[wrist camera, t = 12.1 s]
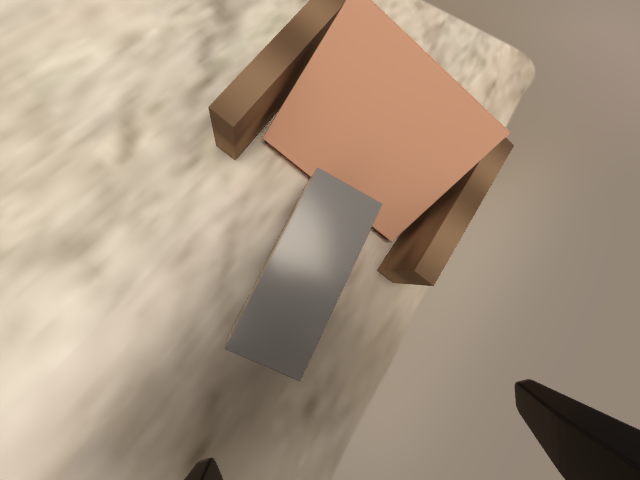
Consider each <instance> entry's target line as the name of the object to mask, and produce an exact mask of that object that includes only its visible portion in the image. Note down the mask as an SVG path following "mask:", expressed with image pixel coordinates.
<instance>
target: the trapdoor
mask: <svg viewBox="0 0 640 480" xmlns="http://www.w3.org/2000/svg"><path fill="white" fill-rule="evenodd" d="M509 134H510V132H509V131H508V130H507V129H506V128H505V127H504V126H503V125H502V124H501V123H500V122H499V121H498V120H497V119H496V118H495V117H494V116H493V115H492V114H490V113H489V112H488V111H487V110H486V109H485V108H484V107H483V106H482V105H481V104H480V103H479V102H478V101H477V100H476V99H475V98H474V97H473V96H472V95H471V94H469V93H468V92H467V91H466V90H465V89H464V88H463V87H462V86H461V85H460V84H459V83H458V82H457V81H456V80H455V79H454V78H453V77H452V76H451V75H450V74H448V73H447V72H446V71H445V70H444V69H443V68H442V67H441V66H440V65H439V64H438V63H437V62H436V61H435V60H434V59H433V58H432V57H431V56H430V55H429V54H427V53H426V52H425V51H424V50H423V49H422V48H421V47H420V46H419V45H418V44H417V43H416V42H415V41H414V40H413V39H412V38H411V37H410V36H409V35H408V34H406V33H405V32H404V31H403V30H402V29H401V28H400V27H399V26H398V25H397V24H396V23H395V22H394V21H393V20H392V19H391V18H390V17H389V16H388V15H387V14H385V13H384V12H383V11H382V10H381V9H380V8H379V7H378V6H377V5H376V4H375V3H374V2H373V1H372V0H346V1H345V3H344V5H343V6H342V8H341V10H340V11H339V13H338V15H337V16H336V18H335V20H334V21H333V23H332V25H331V26H330V28H329V29H328V31H327V33H326V34H325V36H324V38H323V39H322V41H321V43H320V44H319V46H318V48H317V49H316V51H315V53H314V54H313V56H312V57H311V59H310V61H309V62H308V64H307V66H306V67H305V69H304V71H303V72H302V74H301V76H300V77H299V79H298V81H297V82H296V84H295V85H294V87H293V89H292V90H291V92H290V94H289V95H288V97H287V99H286V100H285V102H284V104H283V105H282V107H281V109H280V110H279V112H278V113H277V115H276V117H275V118H274V120H273V122H272V123H271V125H270V127H269V128H268V130H267V132H266V133H265V135H264V137H263V139H264V140H266V141H267V142H268V143H269V144H271V145H272V146H273V147H274V148H276V149H277V150H278V151H279V152H281V153H282V154H283V155H284V156H285V157H287V158H288V159H289V160H290V161H292V162H293V163H294V164H295V165H297V166H298V167H299V168H300V169H302V170H303V171H304V172H305V173H307V174H308V175H309V176H310V177H311V176H312V175H313V173H314V172H315V170H316V169H317V167H318V168H320V169H322V170H323V171H325V172H327V173H329V174H330V175H332V176H334V177H336V178H338V179H339V180H341V181H343V182H345V183H346V184H348V185H350V186H352V187H354V188H355V189H357V190H359V191H361V192H362V193H364V194H366V195H368V196H370V197H371V198H373V199H375V200H377V201H378V202H380V203H382V206H381V208H380V210H379V213H378V215H377V217H376V219H375V221H374V223H373V225H372V226H373V227H374V228H375V229H376V230H378V231H379V232H380V233H381V234H383V235H384V236H385V237H386V238H388V239H389V240H390V241H391V242H392V241H393V240H394V239H395V238H396V237H397V236H398V235H399V234H401V233H402V232H403V231H404V230H405V229H406V228H407V227H408V226H409V225H410V224H411V223H413V222H414V221H415V220H416V219H417V218H418V217H419V216H420V215H421V214H422V213H423V212H425V211H426V210H427V209H428V208H429V207H430V206H431V205H432V204H433V203H434V202H435V201H437V200H438V199H439V198H440V197H441V196H442V195H443V194H444V193H445V192H446V191H447V190H449V189H450V188H451V187H452V186H453V185H454V184H455V183H456V182H457V181H458V180H459V179H461V178H462V177H463V176H464V175H465V174H466V173H467V172H468V171H469V170H470V169H471V168H473V167H474V166H475V165H476V164H477V163H478V162H479V161H480V160H481V159H482V158H483V157H485V156H486V155H487V154H488V153H489V152H490V151H491V150H492V149H493V148H494V147H495V146H497V145H498V144H499V143H500V142H501V141H502V140H503V139H504V138H505V137H506V136H507V135H509Z"/></svg>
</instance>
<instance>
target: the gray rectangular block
mask: <svg viewBox="0 0 640 480" xmlns="http://www.w3.org/2000/svg"><path fill="white" fill-rule="evenodd" d="M381 206H382V203H380V202H378V201H377V200H375V199H373V198H371V197H370V196H368V195H366V194H364V193H362V192H361V191H359V190H357V189H355V188H354V187H352V186H350V185H348V184H346V183H345V182H343V181H341V180H339V179H338V178H336V177H334V176H332V175H330V174H329V173H327V172H325V171H323V170H322V169H320V168H318V167H317V169H316V170H315V172H314V173H313V175H312V176H311V178H310V179H309V181H308V182H307V184H306V185H305V187H304V189H303V191H302V193H301V195H300V197H299V199H298V201H297V203H296V205H295V207H294V209H293V211H292V213H291V215H290V217H289V219H288V221H287V222H286V224H285V226H284V228H283V230H282V232H281V234H280V236H279V238H278V240H277V242H276V244H275V246H274V248H273V250H272V252H271V254H270V256H269V257H268V259H267V261H266V263H265V265H264V267H263V269H262V271H261V273H260V275H259V277H258V279H257V281H256V283H255V285H254V287H253V289H252V291H251V293H250V294H249V296H248V298H247V300H246V302H245V304H244V306H243V308H242V310H241V312H240V314H239V316H238V318H237V320H236V322H235V324H234V326H233V328H232V330H231V333H230V335H229V338H228V341H227V343H226V346H225V349H226V350H228V351H231V352H233V353H235V354H238V355H240V356H242V357H245V358H247V359H249V360H252V361H254V362H256V363H259V364H261V365H263V366H266V367H268V368H270V369H273V370H275V371H277V372H280V373H282V374H284V375H287V376H289V377H291V378H294V379H296V380H298V381H300V380H301V378H302V376H303V374H304V371H305V369H306V367H307V365H308V363H309V361H310V359H311V356H312V354H313V352H314V350H315V348H316V346H317V344H318V341H319V339H320V337H321V335H322V333H323V331H324V329H325V326H326V324H327V322H328V320H329V318H330V316H331V314H332V311H333V309H334V307H335V305H336V303H337V301H338V298H339V296H340V294H341V292H342V290H343V288H344V286H345V283H346V281H347V279H348V277H349V275H350V273H351V271H352V268H353V266H354V264H355V262H356V260H357V258H358V256H359V253H360V251H361V249H362V247H363V245H364V243H365V240H366V238H367V236H368V234H369V232H370V230H371V228H372V225H373V223H374V221H375V219H376V217H377V215H378V213H379V210H380V208H381Z"/></svg>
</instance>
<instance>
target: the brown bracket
mask: <svg viewBox="0 0 640 480" xmlns="http://www.w3.org/2000/svg"><path fill="white" fill-rule="evenodd" d="M345 1H346V0H310V1H309V2H308V3H307V4H306V5H305V6H304V7H303V8H302V9H301V10H300V11H299V12H298V13H297V14H296V15H295V16H294V17H293V18H292V19H291V21H290V22H289V23H288V24H287V25H286V26H285V27H284V28H283V29H282V30H281V31H280V32H279V33H278V34H277V35H276V36H275V37H274V38H273V40H272V41H271V42H270V43H269V44H268V45H267V46H266V47H265V48H264V49H263V50H262V51H261V52H260V53H259V54H258V55H257V56H256V57H255V59H254V60H253V61H252V62H251V63H250V64H249V65H248V66H247V67H246V68H245V69H244V70H243V71H242V72H241V73H240V74H239V75H238V76H237V78H236V79H235V80H234V81H233V82H232V83H231V84H230V85H229V86H228V87H227V88H226V89H225V90H224V91H223V92H222V93H221V94H220V95H219V96H218V98H217V99H216V100H215V101H214V102H213V103H212V104H211V105H210V106H209V112H210V117H211V122H212V127H213V132H214V137H215V142H216V146H218V147H219V148H220V149H221V150H223V151H224V152H225V153H227V154H228V155H229V156H230V157H232V158H233V159H234V160H236V159H237V158H238V157H239V155H240V154H241V153H242V152H243V151H244V150H245V148H246V147H247V146H248V145H249V144H250V143H251V142H252V140H253V139H254V138H255V137H256V136H257V135H258V133H259V132H260V131H261V130H262V129H263V128H264V126H265V125H266V124H267V123H268V122H269V121H270V120H271V118H272V117H273V116H274V115H275V114H276V113H277V111H278V110H279V109H280V108H281V107H282V105H283V104H284V102H285V100H286V99H287V97H288V95H289V94H290V92H291V90H292V89H293V87H294V85H295V84H296V82H297V81H298V79H299V77H300V76H301V74H302V72H303V71H304V69H305V67H306V66H307V64H308V62H309V61H310V59H311V57H312V56H313V54H314V53H315V51H316V49H317V48H318V46H319V44H320V43H321V41H322V39H323V38H324V36H325V34H326V33H327V31H328V29H329V28H330V26H331V25H332V23H333V21H334V20H335V18H336V16H337V15H338V13H339V11H340V10H341V8H342V6H343V5H344V3H345ZM513 146H514V145H513V144H512V143H511V142H510V141H509V140H508V139H507V138H506V137H505V138H504V139H503V140H502V141H501V142H500V143H499V144H498V145H497V146H495V147H494V148H493V149H492V150H491V151H490V152H489V153H488V154H487V155H486V156H485V157H483V158H482V159H481V160H480V161H479V162H478V163H477V164H476V165H475V166H474V167H473V168H471V169H470V170H469V171H468V172H467V173H466V174H465V175H464V176H463V177H462V178H461V179H459V180H458V181H457V182H456V183H455V184H454V185H453V186H452V187H451V188H450V189H449V190H447V191H446V192H445V193H444V194H443V195H442V196H441V197H440V198H439V199H438V200H437V201H435V202H434V203H433V204H432V205H431V206H430V207H429V208H428V209H427V210H426V211H425V212H423V213H422V214H421V215H420V216H419V217H418V218H417V219H416V220H415V221H414V222H413V223H411V224H410V225H409V226H408V227H407V228H406V229H405V230H404V231H403V232H402V233H401V234H400V236H399V237H398V239H397V241H396V242H395V244H394V245H393V247H392V248H391V250H390V252H389V253H388V255H387V256H386V258H385V260H384V261H383V263H382V264H381V266H380V267H379V269H378V271H379V272H380V273H381V274H383V275H384V276H385V277H386V278H388V279H389V280H390V281H392V282H393V283H403V284H415V285H428V286H434V284H435V282H436V281H437V279H438V277H439V276H440V274H441V272H442V270H443V269H444V267H445V265H446V263H447V261H448V259H449V258H450V256H451V254H452V253H453V251H454V249H455V247H456V246H457V244H458V242H459V241H460V239H461V237H462V235H463V233H464V232H465V230H466V228H467V227H468V224H469V223H470V221H471V220H472V218H473V216H474V214H475V212H476V211H477V209H478V207H479V206H480V204H481V202H482V200H483V199H484V197H485V195H486V193H487V192H488V190H489V188H490V186H491V185H492V183H493V181H494V179H495V178H496V176H497V174H498V172H499V171H500V169H501V167H502V165H503V164H504V162H505V160H506V158H507V157H508V155H509V153H510V151H511V150H512V148H513Z"/></svg>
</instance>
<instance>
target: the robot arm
mask: <svg viewBox="0 0 640 480" xmlns="http://www.w3.org/2000/svg"><path fill="white" fill-rule="evenodd" d="M515 398H516V406H517V409H518V411H519V413H520V415H521V416H522V418H523V419H524V421H525V422H526V423H527V425H528V426H529V428H530V429H531V431H532V432H533V434H534V435H535V437H536V439H537V440H538V441H539V443H540V444H541V446H542V447H543V449H544V450H545V452H546V453H547V455H548V456H549V458H550V459H551V461H552V462H553V463H554V465H555V466H556V468H557V469H558V471H559V472H560V473H561V475H562V476H563V477H564V478H565V480H640V430H639V429H637V428H634V427H632V426H630V425H628V424H625V423H624V422H621V421H619V420H617V419H615V418H613V417H611V416H609V415H606V414H604V413H602V412H600V411H598V410H595V409H594V408H591V407H589V406H587V405H585V404H583V403H581V402H578V401H576V400H574V399H572V398H570V397H568V396H565V395H563V394H561V393H559V392H557V391H555V390H552V389H550V388H548V387H546V386H544V385H542V384H540V383H537V382H535V381H533V380H529V379H526V380H522V381H518V382H516V383H515ZM184 480H223V478H222V475H221V473H220V471H219V468H218V466H217V464H216V461H215V459H213V458H208V459H204V460H200V461H199V462H197V464H196V465H195V466H194V467H193V469H192V470H191V471H190V473H189V474H188V475H187V477H186V478H185V479H184Z"/></svg>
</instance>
